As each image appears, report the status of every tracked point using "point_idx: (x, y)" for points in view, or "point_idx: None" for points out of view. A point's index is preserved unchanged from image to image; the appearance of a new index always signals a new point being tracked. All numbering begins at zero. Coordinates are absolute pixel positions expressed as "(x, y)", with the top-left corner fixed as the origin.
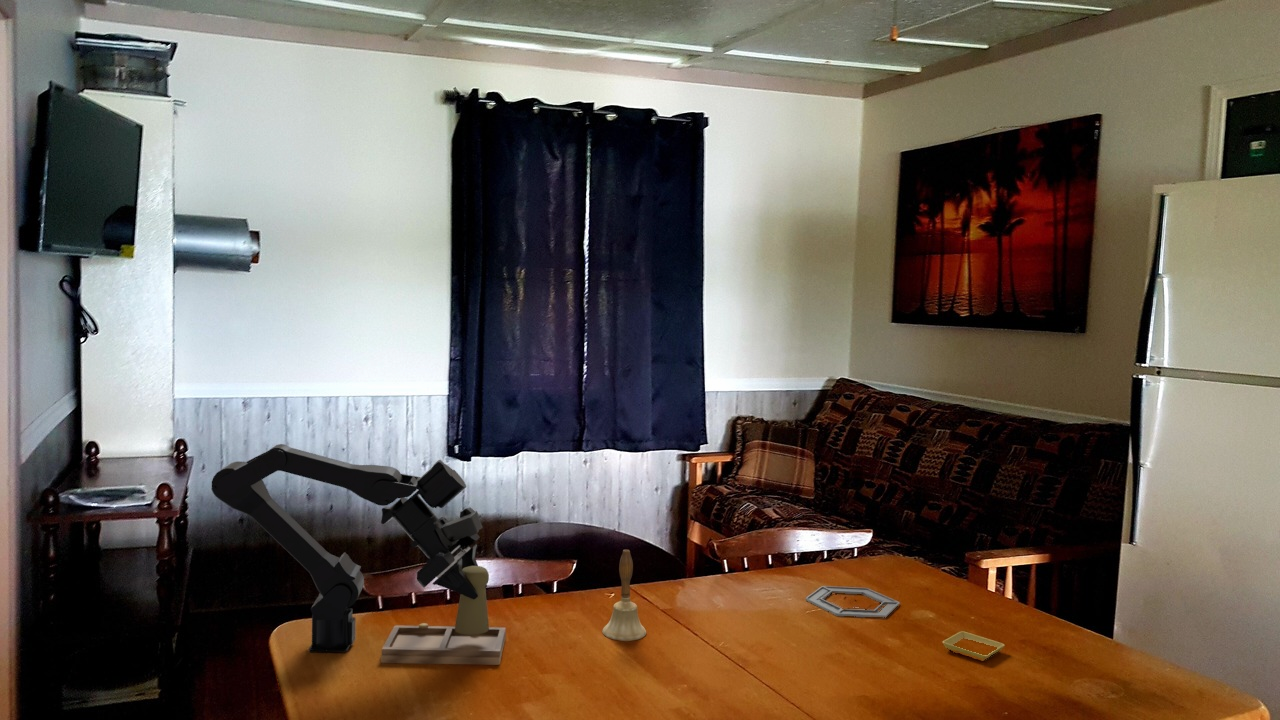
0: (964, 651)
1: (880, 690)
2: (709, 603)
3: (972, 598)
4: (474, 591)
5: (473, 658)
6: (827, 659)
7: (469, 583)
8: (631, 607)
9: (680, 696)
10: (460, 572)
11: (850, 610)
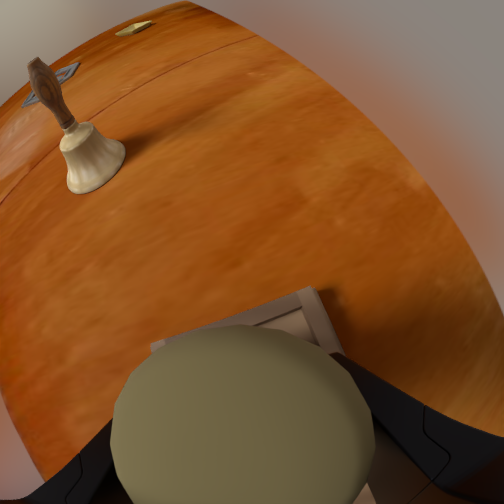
0: (142, 26)
1: (205, 26)
2: (26, 144)
3: (58, 61)
4: (358, 366)
5: (341, 346)
6: (155, 47)
7: (393, 397)
8: (87, 122)
9: (280, 71)
10: (490, 445)
11: (65, 75)
